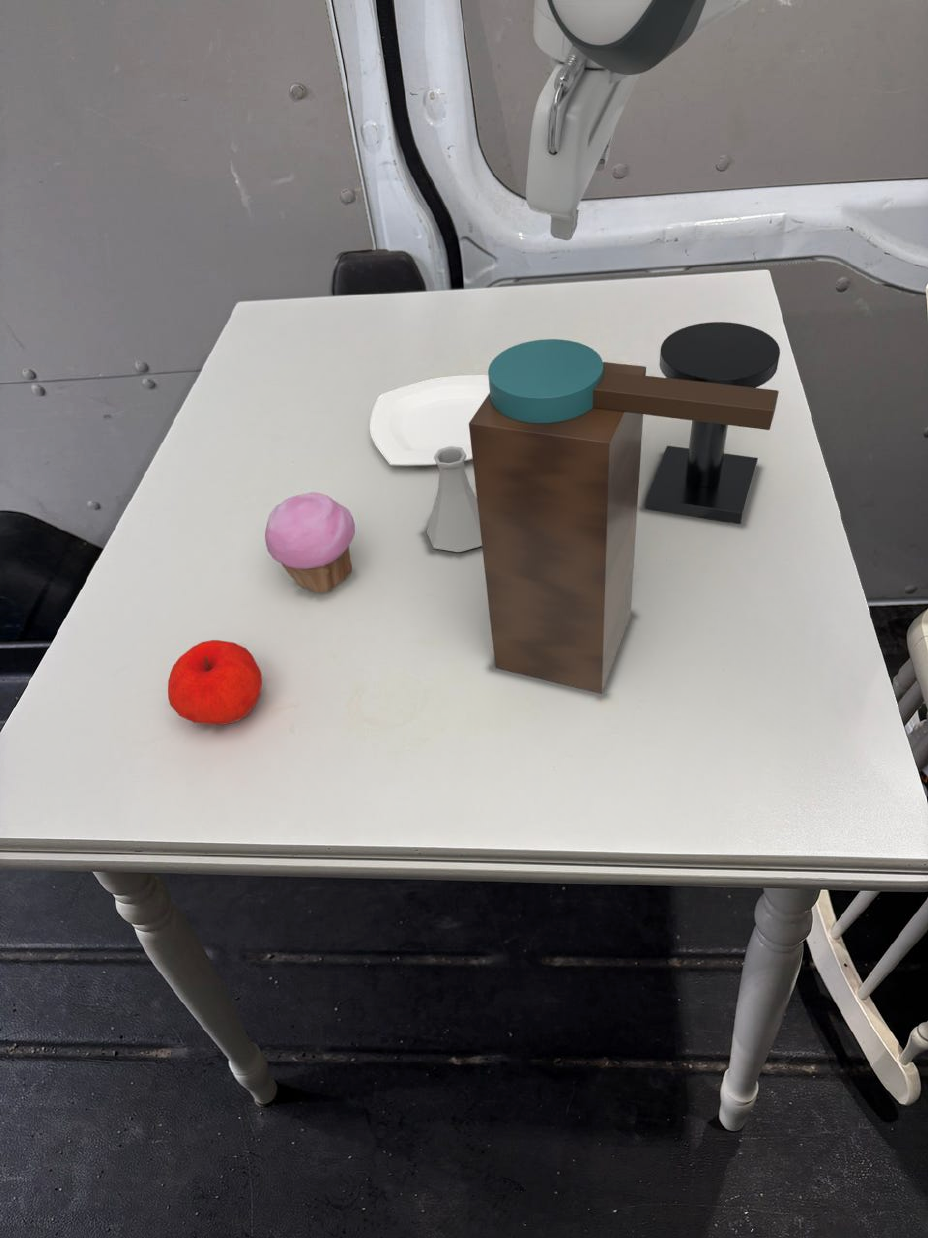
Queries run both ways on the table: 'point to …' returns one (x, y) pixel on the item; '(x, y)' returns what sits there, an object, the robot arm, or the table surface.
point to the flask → (454, 505)
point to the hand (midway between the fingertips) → (580, 198)
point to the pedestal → (558, 537)
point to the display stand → (703, 470)
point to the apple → (214, 683)
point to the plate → (427, 418)
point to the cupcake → (311, 540)
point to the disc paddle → (611, 389)
